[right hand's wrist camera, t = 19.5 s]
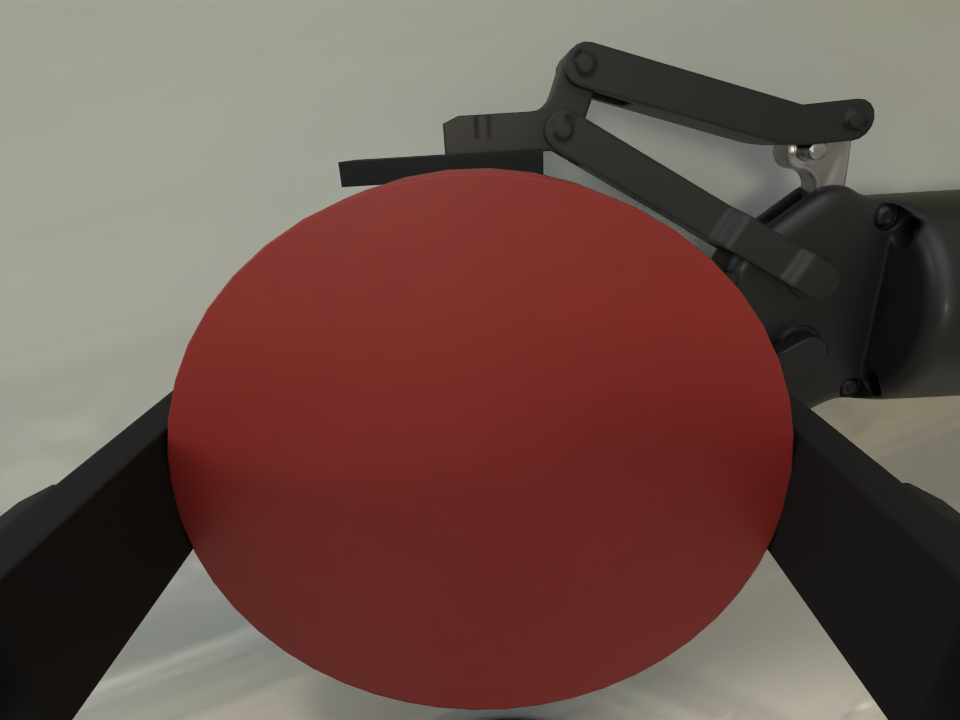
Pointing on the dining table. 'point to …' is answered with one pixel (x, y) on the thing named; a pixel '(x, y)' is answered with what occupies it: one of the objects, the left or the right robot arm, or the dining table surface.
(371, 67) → the dining table surface
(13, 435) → the dining table surface
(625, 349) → the lid
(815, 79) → the dining table surface
